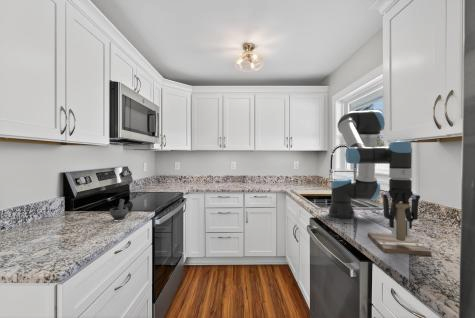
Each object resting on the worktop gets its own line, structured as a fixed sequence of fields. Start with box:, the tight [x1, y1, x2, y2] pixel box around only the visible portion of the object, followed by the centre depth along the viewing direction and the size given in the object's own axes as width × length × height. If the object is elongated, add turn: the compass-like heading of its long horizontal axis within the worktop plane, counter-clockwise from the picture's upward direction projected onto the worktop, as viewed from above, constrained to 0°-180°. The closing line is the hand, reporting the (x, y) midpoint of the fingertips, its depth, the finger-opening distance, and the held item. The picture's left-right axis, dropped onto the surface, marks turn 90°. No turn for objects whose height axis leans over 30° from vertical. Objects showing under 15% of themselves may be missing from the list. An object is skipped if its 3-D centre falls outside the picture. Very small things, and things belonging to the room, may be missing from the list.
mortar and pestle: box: [109, 198, 129, 221], centre depth 144 cm, size 11×9×12 cm
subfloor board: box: [367, 231, 432, 256], centre depth 101 cm, size 20×16×2 cm
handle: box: [390, 201, 410, 241], centre depth 97 cm, size 5×6×15 cm
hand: (400, 236), depth 97 cm, fingers closed on handle, 4 cm apart
